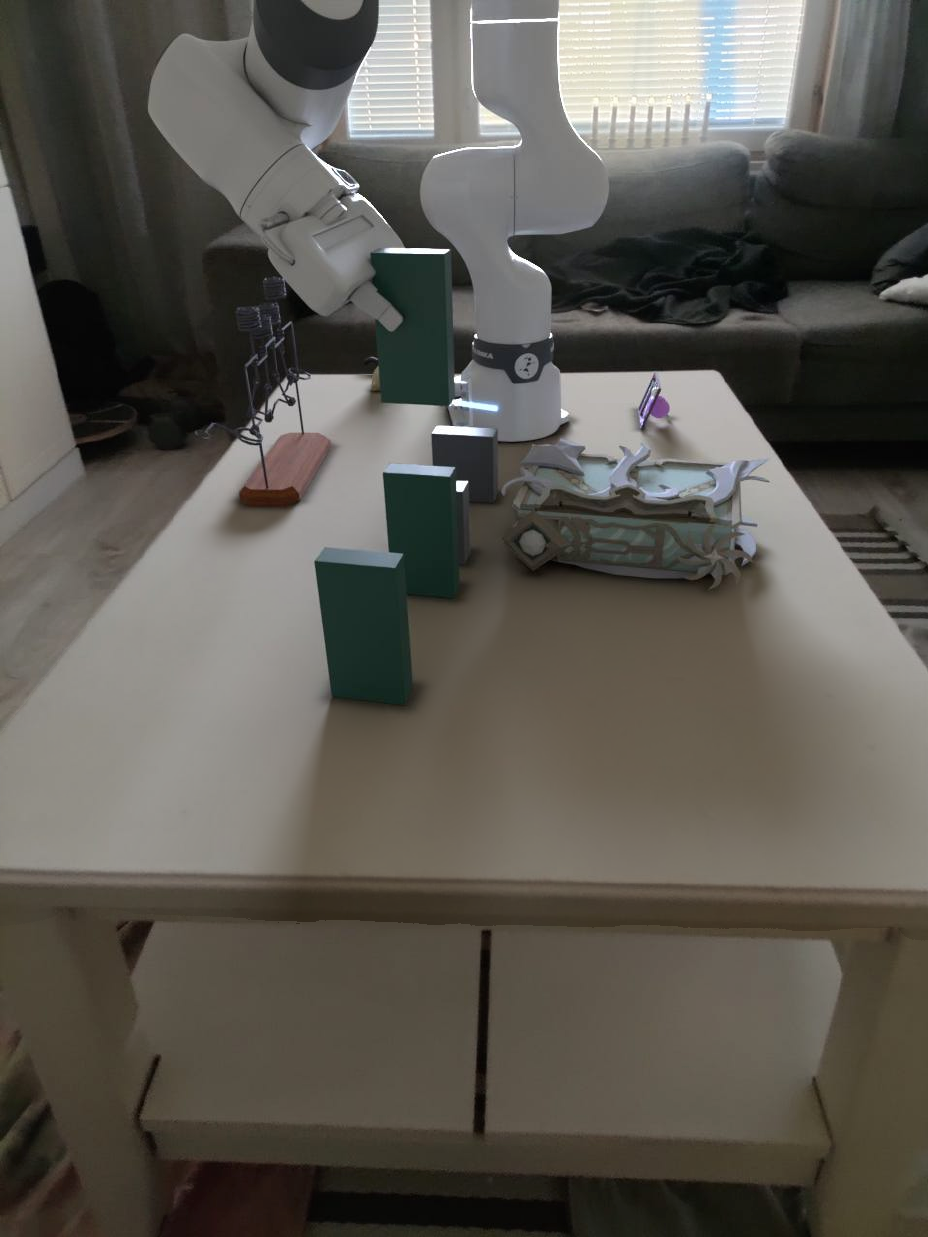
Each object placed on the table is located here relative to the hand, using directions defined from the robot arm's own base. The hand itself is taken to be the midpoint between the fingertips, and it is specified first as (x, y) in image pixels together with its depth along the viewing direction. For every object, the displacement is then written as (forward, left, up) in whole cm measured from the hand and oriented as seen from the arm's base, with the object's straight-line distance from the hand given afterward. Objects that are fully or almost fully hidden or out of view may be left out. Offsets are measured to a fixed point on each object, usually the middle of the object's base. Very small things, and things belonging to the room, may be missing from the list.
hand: (405, 320), depth 85 cm
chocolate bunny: (-69, +13, -28) cm, 76 cm away
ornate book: (+1, +26, -28) cm, 38 cm away
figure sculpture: (-33, -11, -28) cm, 45 cm away
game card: (-36, +48, -28) cm, 66 cm away
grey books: (-11, +7, -28) cm, 31 cm away
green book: (0, +1, -8) cm, 8 cm away
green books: (+12, -5, -28) cm, 31 cm away
